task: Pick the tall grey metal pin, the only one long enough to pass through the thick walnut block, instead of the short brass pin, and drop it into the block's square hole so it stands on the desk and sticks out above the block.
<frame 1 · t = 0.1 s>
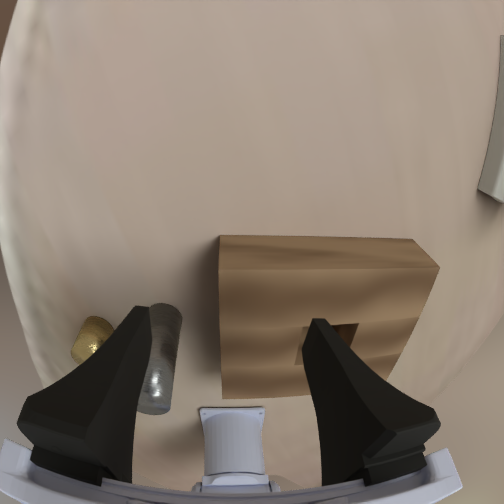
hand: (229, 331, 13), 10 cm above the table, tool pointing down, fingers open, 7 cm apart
short pin: (99, 328, 25), on the table
hole block: (313, 308, 26), on the table
tall pin: (164, 317, 25), on the table
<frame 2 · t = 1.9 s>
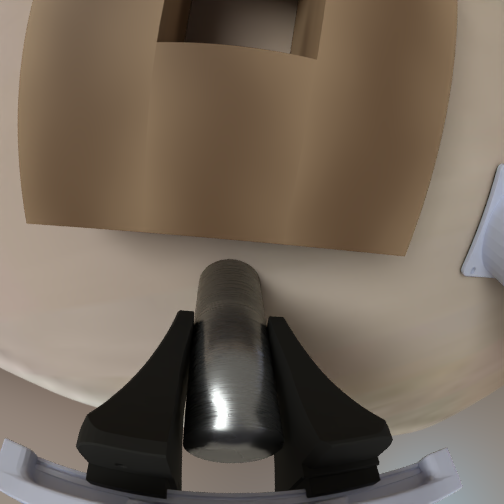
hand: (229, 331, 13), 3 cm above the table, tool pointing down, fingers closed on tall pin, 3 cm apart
hole block: (242, 17, 9), on the table
tall pin: (229, 285, 16), on the table, touching gripper
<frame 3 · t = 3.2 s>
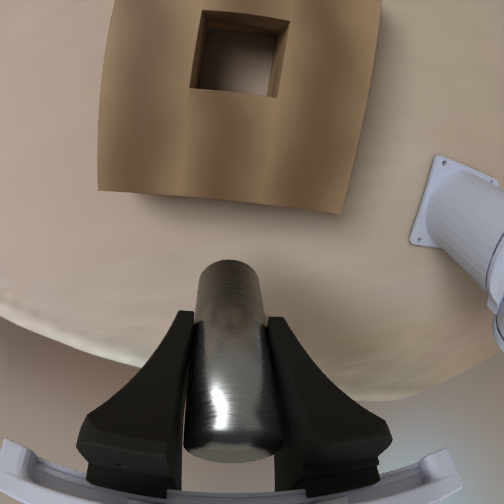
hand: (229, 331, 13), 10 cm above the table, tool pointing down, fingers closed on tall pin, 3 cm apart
hole block: (237, 61, 16), on the table
tall pin: (228, 285, 16), point 7 cm above the table, touching gripper
when the fingers open (7 cm above the table, at t = 4.8 s): tall pin drops 3 cm, resting in hole block.
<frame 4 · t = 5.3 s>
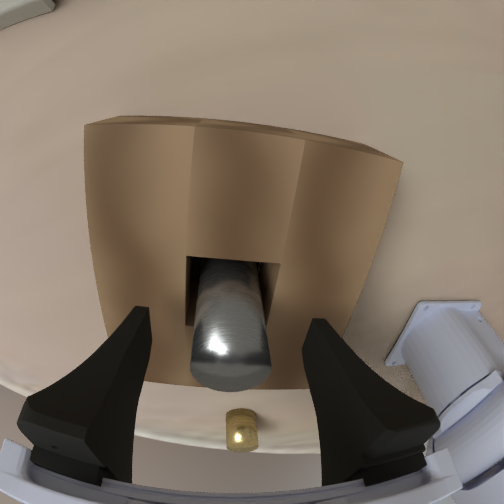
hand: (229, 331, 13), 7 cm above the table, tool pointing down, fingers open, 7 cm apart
short pin: (240, 415, 29), on the table
hole block: (228, 252, 19), on the table
tall pin: (228, 254, 19), resting in hole block
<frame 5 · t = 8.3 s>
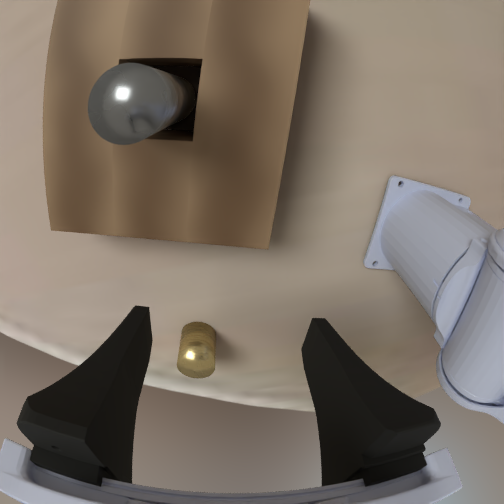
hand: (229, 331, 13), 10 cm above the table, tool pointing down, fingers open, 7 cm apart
short pin: (198, 334, 27), on the table
hole block: (171, 97, 17), on the table
tall pin: (171, 99, 17), resting in hole block
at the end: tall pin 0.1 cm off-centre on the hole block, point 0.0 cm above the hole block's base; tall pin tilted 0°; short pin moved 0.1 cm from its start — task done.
